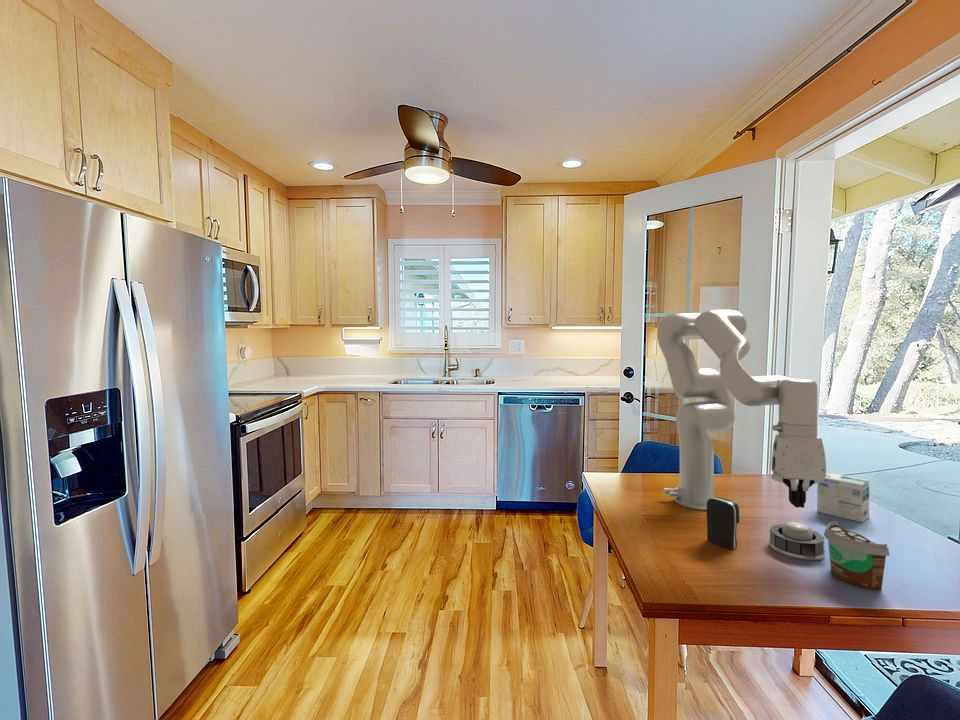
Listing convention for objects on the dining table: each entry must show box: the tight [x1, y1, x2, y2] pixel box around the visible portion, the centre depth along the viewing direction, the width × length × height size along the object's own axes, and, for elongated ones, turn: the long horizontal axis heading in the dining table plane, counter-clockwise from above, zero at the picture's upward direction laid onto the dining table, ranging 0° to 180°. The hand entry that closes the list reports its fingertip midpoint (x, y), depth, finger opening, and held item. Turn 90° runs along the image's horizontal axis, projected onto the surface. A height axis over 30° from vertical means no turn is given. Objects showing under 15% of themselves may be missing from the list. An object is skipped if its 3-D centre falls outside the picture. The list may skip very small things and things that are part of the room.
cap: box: [782, 521, 814, 541], centre depth 108 cm, size 6×6×5 cm
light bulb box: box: [816, 471, 870, 523], centre depth 128 cm, size 11×7×11 cm, turn 37°
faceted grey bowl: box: [769, 523, 826, 562], centre depth 108 cm, size 11×11×4 cm
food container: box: [823, 521, 890, 591], centre depth 95 cm, size 12×6×10 cm, turn 5°
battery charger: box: [706, 496, 740, 550], centre depth 112 cm, size 7×4×11 cm, turn 33°
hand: (797, 505), depth 107 cm, fingers closed
